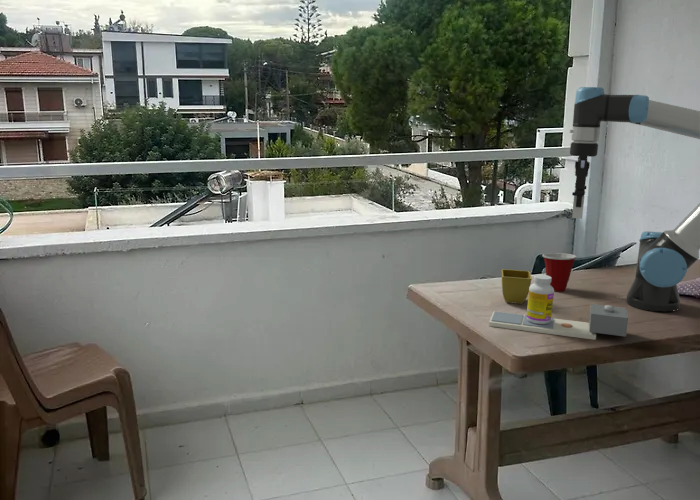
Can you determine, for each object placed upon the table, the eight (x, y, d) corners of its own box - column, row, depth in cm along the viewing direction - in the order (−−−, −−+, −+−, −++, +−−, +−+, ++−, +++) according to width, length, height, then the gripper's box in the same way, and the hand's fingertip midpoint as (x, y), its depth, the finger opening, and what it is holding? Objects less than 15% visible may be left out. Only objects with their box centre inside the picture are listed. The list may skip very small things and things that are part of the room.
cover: (623, 325, 177) (626, 303, 175) (625, 336, 168) (628, 313, 167) (588, 321, 180) (591, 299, 178) (589, 331, 171) (591, 309, 170)
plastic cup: (559, 283, 222) (563, 249, 220) (579, 292, 212) (583, 257, 210) (532, 285, 219) (535, 251, 216) (551, 295, 209) (555, 259, 206)
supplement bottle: (546, 326, 175) (551, 281, 172) (523, 321, 179) (527, 277, 176) (553, 320, 181) (558, 276, 178) (530, 315, 184) (534, 272, 181)
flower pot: (529, 306, 197) (531, 278, 195) (500, 304, 199) (502, 276, 197) (527, 298, 205) (529, 270, 203) (499, 296, 207) (501, 269, 205)
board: (594, 327, 180) (595, 322, 180) (595, 339, 171) (596, 334, 170) (493, 314, 189) (493, 310, 188) (488, 325, 179) (489, 320, 179)
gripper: (571, 139, 199) (564, 206, 204) (570, 144, 176) (562, 220, 181) (597, 140, 196) (589, 208, 201) (599, 145, 174) (591, 222, 178)
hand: (577, 214), depth 191 cm, fingers open, 13 cm apart
